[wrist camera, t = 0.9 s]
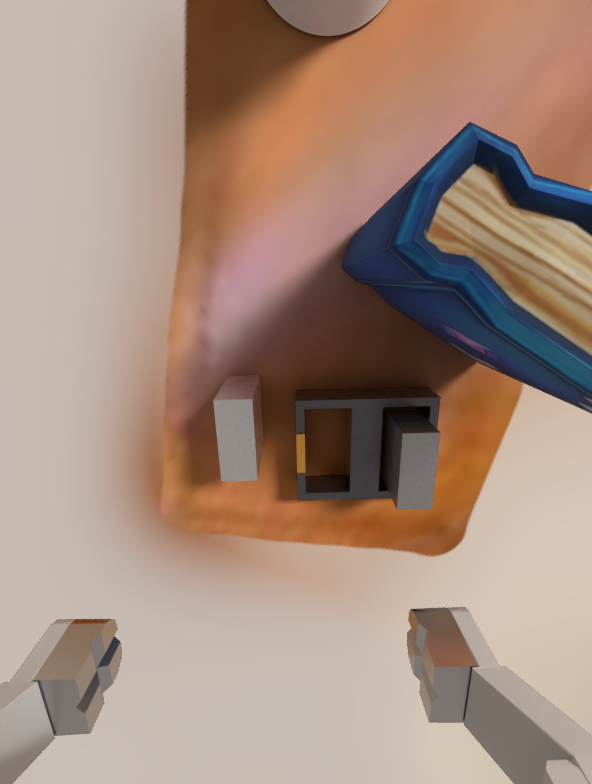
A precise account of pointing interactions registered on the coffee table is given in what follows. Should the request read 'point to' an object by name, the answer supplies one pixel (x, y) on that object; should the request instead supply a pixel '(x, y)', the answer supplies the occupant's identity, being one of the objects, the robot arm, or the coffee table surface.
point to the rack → (376, 445)
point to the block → (239, 428)
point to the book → (489, 262)
